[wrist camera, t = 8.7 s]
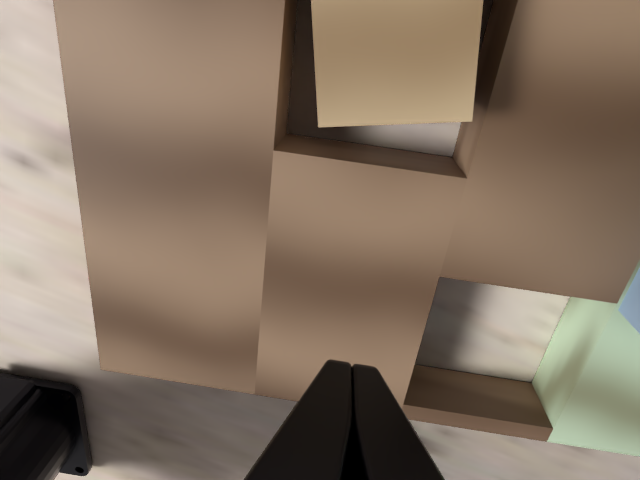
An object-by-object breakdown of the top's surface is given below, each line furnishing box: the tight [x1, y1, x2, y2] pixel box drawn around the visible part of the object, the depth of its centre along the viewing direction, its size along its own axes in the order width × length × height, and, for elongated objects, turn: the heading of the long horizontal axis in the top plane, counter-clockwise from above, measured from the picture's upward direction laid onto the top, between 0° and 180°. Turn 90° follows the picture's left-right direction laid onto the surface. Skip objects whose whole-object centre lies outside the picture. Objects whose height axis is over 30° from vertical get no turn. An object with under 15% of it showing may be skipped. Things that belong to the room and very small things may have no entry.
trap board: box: [53, 0, 640, 457], centre depth 15 cm, size 17×24×2 cm
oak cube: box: [311, 0, 483, 127], centre depth 12 cm, size 4×4×4 cm
